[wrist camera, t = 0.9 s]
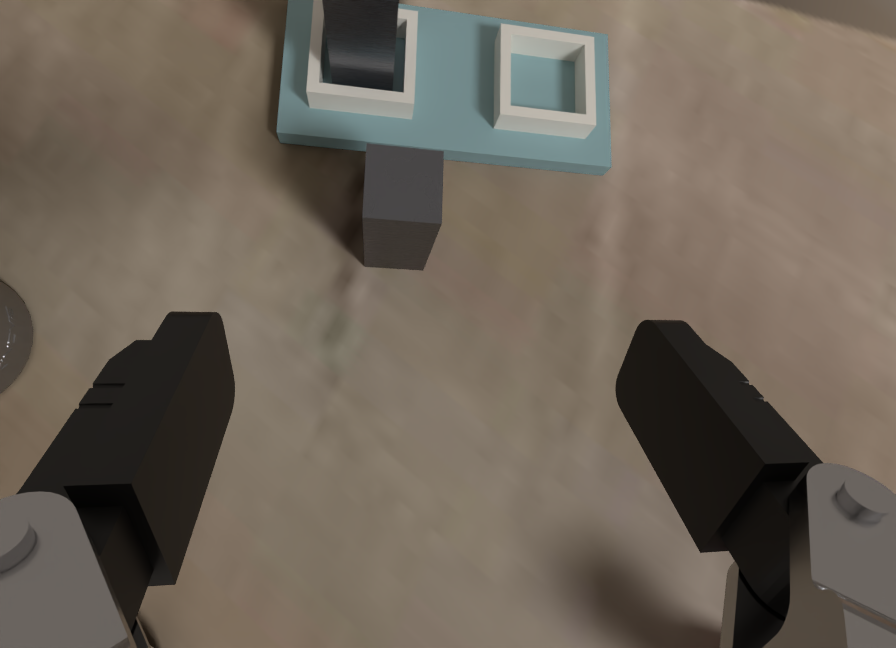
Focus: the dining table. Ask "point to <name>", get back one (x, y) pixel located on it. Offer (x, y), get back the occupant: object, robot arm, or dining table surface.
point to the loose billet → (401, 205)
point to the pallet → (457, 91)
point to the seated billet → (361, 42)
